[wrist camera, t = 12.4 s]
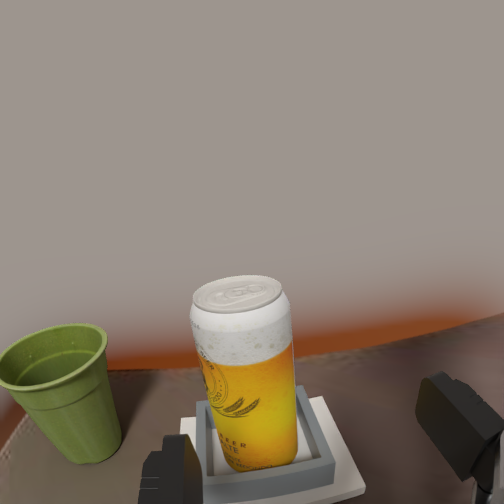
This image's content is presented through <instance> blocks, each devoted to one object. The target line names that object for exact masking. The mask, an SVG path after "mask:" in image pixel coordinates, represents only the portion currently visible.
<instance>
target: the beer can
mask: <svg viewBox="0 0 504 504" xmlns="http://www.w3.org/2000/svg"><path fill="white" fill-rule="evenodd" d="M189 317H190V321H191V326H192V331H193V336H194V340H195V344H196V349H197V353H198V358H199V362H200V367H201V371H202V375H203V379H204V384H205V388H206V392H207V396H208V400H209V404H210V407H211V411H212V415H213V419H214V423H215V426H216V430H217V434H218V437H219V441H220V444H221V448H222V451H223V455H224V458H225V460H226V462H227V464H228V465H229V466H230V467H231V468H232V469H234V470H235V471H237V472H239V473H243V472H250V471H257V470H263V469H269V468H275V467H280V466H285V465H290V464H291V463H292V462H293V460H294V459H295V457H296V455H297V452H298V429H297V408H296V389H295V371H294V355H293V340H292V327H291V326H292V325H291V312H290V302H289V300H288V298H287V296H286V295H285V293H284V292H283V290H282V286H281V284H280V282H278V281H277V280H275V279H273V278H270V277H265V276H255V275H245V276H234V277H228V278H223V279H219V280H216V281H213V282H210V283H208V284H206V285H204V286H202V287H200V288H199V289H198V290H196V292H195V293H194V294H193V304H192V307H191V311H190V316H189Z"/></svg>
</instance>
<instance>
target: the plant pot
mask: <svg viewBox="0 0 504 504" xmlns="http://www.w3.org/2000/svg"><path fill="white" fill-rule="evenodd" d="M107 343H108V337H107V334H106V332H105V331H104V330H103V329H102V328H100V327H98V326H96V325H92V324H84V323H74V324H63V325H58V326H54V327H49V328H46V329H43V330H40V331H37V332H35V333H32V334H30V335H27V336H25V337H23V338H21V339H20V340H18V341H16V342H15V343H13V344H12V345H11V346H10V347H8V348H7V349H5V350H4V351H3V352H2V354H1V355H0V385H1V386H2V387H4V388H6V389H7V390H8V391H9V393H10V394H11V395H12V397H13V398H14V399H15V401H16V402H17V403H19V404H20V405H21V406H22V407H23V408H24V410H25V411H26V412H27V413H28V415H29V416H30V417H31V418H32V420H33V421H34V422H35V423H36V425H37V426H38V427H39V428H40V429H41V431H42V432H43V433H44V434H45V435H46V436H47V438H48V439H49V440H50V441H51V442H52V443H53V444H54V445H55V447H56V448H57V449H58V450H59V451H60V452H61V453H62V454H63V455H64V456H65V457H66V458H67V459H68V460H70V461H72V462H74V463H77V464H84V463H99V462H101V461H103V460H105V459H107V458H109V457H110V456H111V455H112V454H114V453H115V451H116V450H117V449H118V448H119V446H120V444H121V436H122V434H121V428H120V424H119V421H118V417H117V413H116V410H115V405H114V401H113V397H112V393H111V389H110V384H109V380H108V374H107V360H106V354H105V349H106V347H107Z"/></svg>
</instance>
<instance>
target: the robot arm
mask: <svg viewBox="0 0 504 504" xmlns="http://www.w3.org/2000/svg"><path fill="white" fill-rule="evenodd" d="M415 413H416V418H417V420H418V422H419V424H420V425H421V427H422V428H423V429H424V431H425V432H426V433H427V435H428V436H429V437H430V439H431V440H432V441H433V443H434V444H435V446H436V447H437V448H438V450H439V451H440V452H441V454H442V455H443V456H444V458H445V459H446V460H447V462H448V463H449V465H450V466H451V467H452V469H453V470H454V471H455V473H456V474H457V476H458V477H459V478H460V480H461V481H462V482H463V481H465V480H467V479H468V478H470V477H472V476H473V477H474V478H475V481H474V484H473V491H472V498H471V504H504V420H503V419H502V418H501V417H500V416H499V415H498V414H497V413H496V412H495V411H494V410H493V409H492V408H491V407H490V406H489V405H488V404H487V403H486V402H485V401H483V399H482V398H481V397H480V396H479V395H477V394H476V392H475V391H474V390H473V389H472V388H471V387H470V386H469V385H467V384H465V383H463V382H461V381H459V380H457V379H455V380H452V379H451V378H450V377H449V376H448V375H447V374H446V373H445V372H443V371H440V372H438V373H435V374H433V375H431V376H428V377H426V378H424V379H423V380H422V382H421V386H420V391H419V395H418V400H417V404H416V409H415ZM141 477H142V479H141V483H140V491H139V498H138V504H203V476H202V468H201V464H200V461H199V458H198V456H197V454H196V451H195V449H194V447H193V444H192V442H191V439H190V437H189V435H188V434H177V435H165V436H164V438H163V445H162V451H151V453H150V454H149V456H148V457H147V459H146V460H145V462H144V463H143V470H142V476H141Z"/></svg>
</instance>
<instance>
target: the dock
mask: <svg viewBox="0 0 504 504" xmlns="http://www.w3.org/2000/svg"><path fill="white" fill-rule="evenodd" d="M295 389H296V408H297V429H298V452H297V455H296V457H295V459H294V460H293V462H292V463H291V464H290V465H285V466H280V467H275V468H269V469H263V470H257V471H250V472H243V473H239V472H237V471H235V470H234V469H232V468H231V467H230V466H229V465H228V464H227V462H226V460H225V458H224V455H223V451H222V448H221V444H220V441H219V437H218V434H217V430H216V426H215V423H214V419H213V415H212V411H211V407H210V404H209V400H208V401H199V402H196V417H189V418H181V428H180V434H188V435H189V437H190V439H191V442H192V444H193V447H194V449H195V451H196V454H197V456H198V458H199V461H200V464H201V468H202V476H203V504H332V503H335V502H339V501H342V500H346V499H349V498H352V497H355V496H358V495H361V494H364V492H365V488H366V485H365V483H364V481H363V479H362V477H361V475H360V473H359V471H358V469H357V467H356V465H355V463H354V461H353V459H352V457H351V455H350V452H349V450H348V448H347V446H346V444H345V442H344V440H343V438H342V436H341V434H340V432H339V430H338V428H337V426H336V424H335V422H334V420H333V418H332V416H331V414H330V412H329V410H328V408H327V406H326V403H325V401H324V399H323V397H322V396H319V397H315V398H311V399H308V397H307V394H306V392H305V390H304V387H303V385H301V386H296V387H295Z"/></svg>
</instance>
